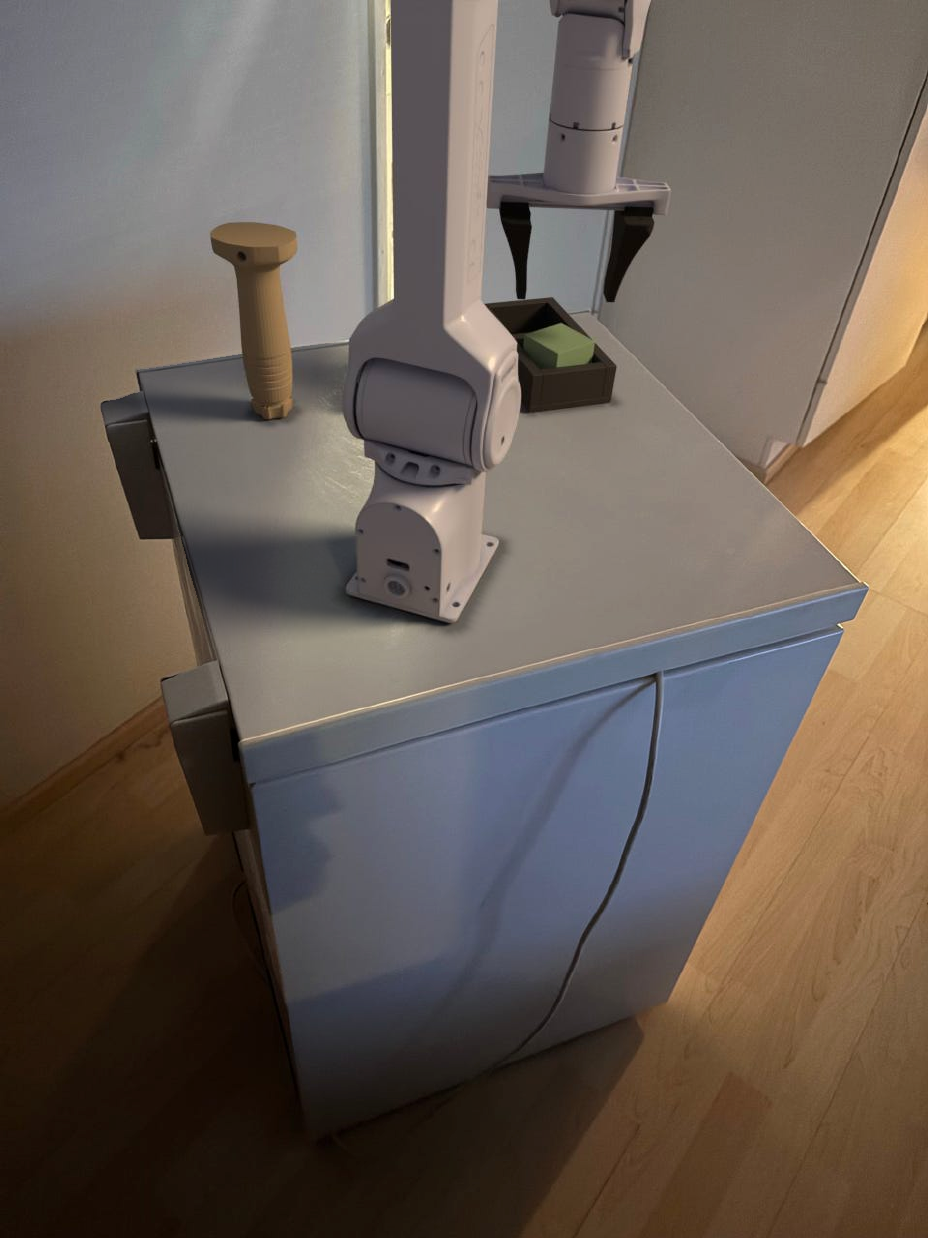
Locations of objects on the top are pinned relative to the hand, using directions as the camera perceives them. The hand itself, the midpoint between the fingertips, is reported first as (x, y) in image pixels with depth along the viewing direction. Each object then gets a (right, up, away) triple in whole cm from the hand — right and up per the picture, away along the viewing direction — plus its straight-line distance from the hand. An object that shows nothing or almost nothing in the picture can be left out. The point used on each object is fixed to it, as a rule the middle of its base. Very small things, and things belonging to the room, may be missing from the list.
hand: (564, 296), depth 77 cm
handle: (-25, -10, 0) cm, 27 cm away
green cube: (0, -6, +5) cm, 8 cm away
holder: (-1, -4, +8) cm, 9 cm away
